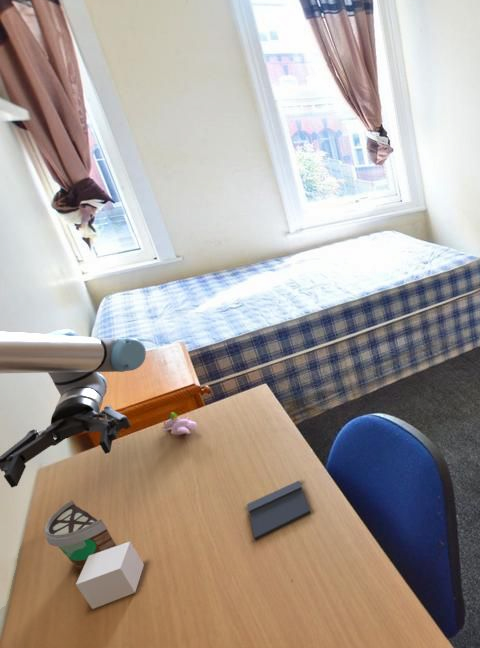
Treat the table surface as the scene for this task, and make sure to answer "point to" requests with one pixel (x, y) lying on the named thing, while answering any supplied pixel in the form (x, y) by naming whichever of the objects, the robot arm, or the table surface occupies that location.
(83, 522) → the food container
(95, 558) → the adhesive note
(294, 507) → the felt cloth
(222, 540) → the table surface
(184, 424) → the rabbit figure
